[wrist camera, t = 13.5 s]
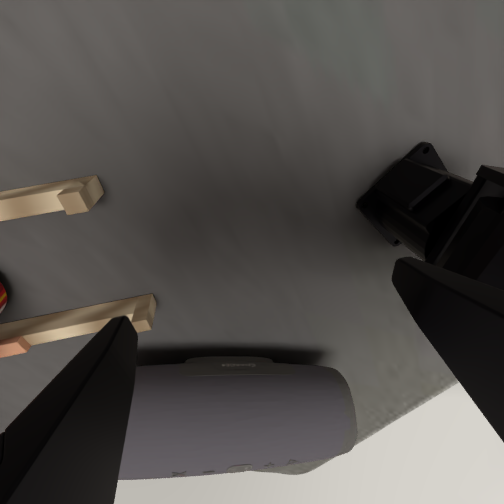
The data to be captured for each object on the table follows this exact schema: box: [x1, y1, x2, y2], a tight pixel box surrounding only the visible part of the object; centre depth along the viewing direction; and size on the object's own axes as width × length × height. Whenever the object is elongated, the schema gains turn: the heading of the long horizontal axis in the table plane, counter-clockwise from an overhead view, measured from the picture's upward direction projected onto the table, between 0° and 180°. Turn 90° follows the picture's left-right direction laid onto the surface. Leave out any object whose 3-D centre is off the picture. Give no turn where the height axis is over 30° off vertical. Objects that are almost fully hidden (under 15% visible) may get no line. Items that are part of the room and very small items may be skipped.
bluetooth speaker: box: [118, 356, 357, 480], centre depth 27 cm, size 23×9×10 cm, turn 76°
